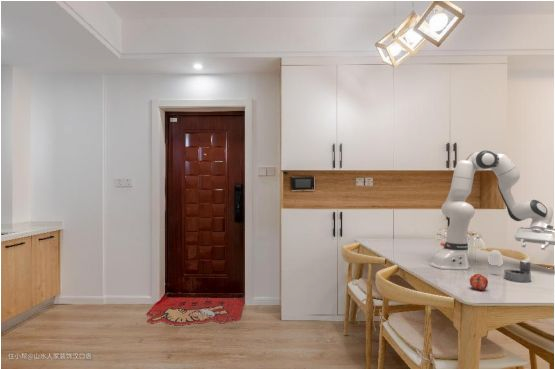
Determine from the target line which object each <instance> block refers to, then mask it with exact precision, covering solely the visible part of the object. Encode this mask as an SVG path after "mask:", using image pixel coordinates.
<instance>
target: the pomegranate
mask: <svg viewBox="0 0 555 369" xmlns="http://www.w3.org/2000/svg"><path fill="white" fill-rule="evenodd" d="M488 283H489V282H488V278H487V277H485V276H484V275H482V274H481V273H475V274H474V275H471V276H470V278H469V284H470V286H471V288H473V289H474V290H479V291H484V290H486V289H487V287H488Z"/></svg>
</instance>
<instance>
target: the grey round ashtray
mask: <svg viewBox="0 0 555 369" xmlns="http://www.w3.org/2000/svg"><path fill="white" fill-rule="evenodd" d="M503 271H504V273H503V274H504V275H503V278H504V279H505V280H506V281H510V282H514V283H523V284H524V283H530V282H532V280H531V278H532V277H531V275H532V274H531V272H530V273H529V272H526V271H522V270H520V269H513V268H512V269H511V268H510V269H508V268H507V269H505V270H503Z"/></svg>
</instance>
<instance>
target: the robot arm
mask: <svg viewBox="0 0 555 369" xmlns="http://www.w3.org/2000/svg"><path fill="white" fill-rule="evenodd" d="M488 169H490V170H491V171H493V173H494V174H495V176H496V178H497V179H498V183H497V189H498V192H499V194H500V197H501V199H502V200H503V202H504V204H505V207H506V209H507V213H508V216H509V217H510V219H512V220H513V221H516V222H521V221H525V220H527V219H531V222H530V226H529V227H519V228H517V229H516V232H515V235H514V240H516V241H517V242H521V248H526V243H531V244H539V245H541V248H540V249H541V250H544V251H545V250H546V248H548V247H549V246H555V226H554V225H552V224H551V223H552V220H553V217H554V216H553V215H554V212H553V208H552V207H551V206H549V205H547V204H545V203H544V204H543V203H542V202H540V200H537V199H532V200H527V201H524V202H520V203H517V202H516V199H515V198H514V196H513V194H512V192H511V190H512V187H513V186H514V185H516V184H517V183H518V182H519V179H520V178H521V173H520V171H519V169H518V167H516V165H515V164H514V162H513V161H512V160H511V158H510V157H508V156H507V154H505V153H494V152H493V151H490V150H480V151H476V152H474V153H471V154H470V155H469V156H468V157H467V158H466V159H461V160H458V161H457V163H456V165H455V168H454V170H453V175H452V180H451V185H450V188H449V189H450V190H449V192H448V195H447V197H446V199H445V202H444V203H442V206H441V208H440V209H441V214H443V215H444V216H445V217H447V218H448V219H450V222H449V224H448V227H447V228H446V241H445V242H442V241H441V242H440V243H439V244H440V246H442V247H443V248H442V249H441V250H439V251H438V252H436V253H435V254H434V256H433V259H432V261H431V262H429V263H428V264H429V266H431V267H433V268H436V269H440V270H463V271H464V270H465V271H466V270H469V269H470V268H471V267H470V262H469V258H468V257H469V256H468V250H469V243H468V229H469V225H470V222H471V220H472V218H474V216H475V208H474V206H473V205H472V204H471V203H468V202H466V200H467V198H468V197H469V196H470V194H471V193H472V188H473V183H474V178H475V177H474V175H475V173H476V171H479V170H480V171H484V170H488Z"/></svg>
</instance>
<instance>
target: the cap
mask: <svg viewBox="0 0 555 369" xmlns="http://www.w3.org/2000/svg"><path fill="white" fill-rule="evenodd" d="M519 270H522V271H526V272H529V273H531V261H529V260H519Z"/></svg>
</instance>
